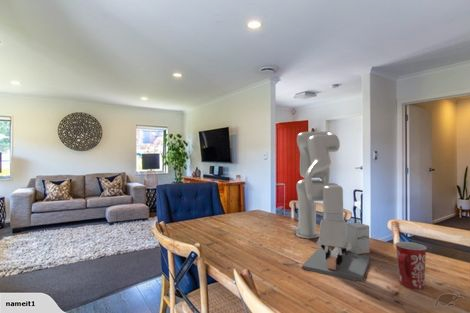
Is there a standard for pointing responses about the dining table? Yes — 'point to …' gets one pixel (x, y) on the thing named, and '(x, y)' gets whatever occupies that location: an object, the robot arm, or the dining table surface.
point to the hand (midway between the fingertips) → (334, 262)
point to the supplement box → (358, 237)
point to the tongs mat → (349, 268)
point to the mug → (411, 264)
